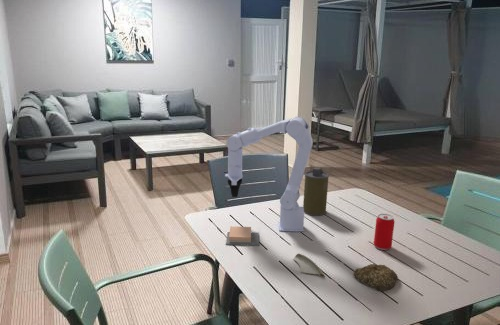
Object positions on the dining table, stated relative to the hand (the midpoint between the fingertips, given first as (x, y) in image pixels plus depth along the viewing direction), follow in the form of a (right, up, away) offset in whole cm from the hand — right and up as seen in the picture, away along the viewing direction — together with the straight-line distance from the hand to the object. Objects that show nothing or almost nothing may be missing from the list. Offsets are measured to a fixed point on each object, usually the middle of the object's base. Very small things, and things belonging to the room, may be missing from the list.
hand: (234, 196), depth 164 cm
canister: (+35, -8, +14) cm, 38 cm away
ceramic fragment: (+25, -21, -33) cm, 46 cm away
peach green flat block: (+3, -12, -9) cm, 15 cm away
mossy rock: (+46, -23, -38) cm, 64 cm away
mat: (+4, -15, -14) cm, 21 cm away
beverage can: (+55, -17, -18) cm, 60 cm away
